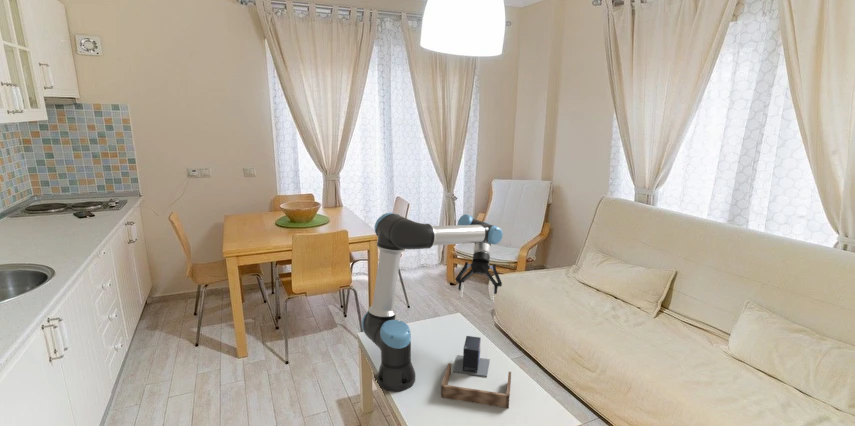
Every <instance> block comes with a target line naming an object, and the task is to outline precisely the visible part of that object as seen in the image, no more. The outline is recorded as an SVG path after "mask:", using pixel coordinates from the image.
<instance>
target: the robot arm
mask: <svg viewBox="0 0 855 426" xmlns="http://www.w3.org/2000/svg"><path fill="white" fill-rule="evenodd" d="M374 233H375V235H376V236H377V243H376V247H378V249H379V255H378V256H379V258H378V262H377V263H378V264H377V270H376V277H375V278H376V279H375V285H374V293H373V299H372V305H370V306H369V307H368V309H367V311H366V312H365V314H364V315H363V317H362V319H361V327H362V331H363V333H364V334H365V336H366V337H367V338H368V339H370V340H371V342H373V344H375V345H376V346H377V348H378V349H380V355H381V356H380V358H381V361H380V362H381V363H380V366H379V369H378V372H377V376H376V377H377V385H378V386H379V387H380V388H381V389H383V390H386V391H389V392H402V391H405V390H408V389H409V388H411V387H412V386H413V385H414V384H415V382H416V371H415V369H414V366H413V362H412V354H411V353H412V350H411V349H412V333H411V329H410V327H409V325H408V324H407V323H406V322H405V321H403V320H398V319H396V316H397V311H396V309H395V308H394V303H395V297H396V290H397V282H398V275H399V268H400V263H401V257H402V256H401V255H402V252H405V250H425V249H432V247H433V246H447V245H462V244H463V245H464V244H474V245H473V254H472V261H471V263H469V262H467V261H466V262H464V265H463V268H462V269H461V270H460V271H459V273H458V274H457V276H456V277H455V282H456V283H458V287H457V289H458V291H460V292H459V299H461V300H463V295H464V287H465V284H464V283H465V282H466V281H468V280H469V278H471V276H473V275H474V274H476V275H482V276H483V275H485V276H486V277H487V278H488V280H490V282H491V284H492V290H491V302H492V303H494V301H495V295H497V293H498V288H499V287H503V283H502V280H501V278H500V275H499V273H498V271H497V266H496V264H492V265H491V264H490V261H491V260H490V258H491V256H490V255H491V248H492V245H498V244H499V243H500V242H501V241H502V239H503V236H504V235H503V234H504V233H503V230H502V228H501V227H499V226H497V225H494V224H491V223H489V222H486V221H481V220H480V219H479V220H478V219H476V218H474V217H473V216H472V215H470V214H467V213H466V214H462V215H461V216H460V217H459V219H458V221H457V224H456V225H432V224H430V223H420V222H416V221H414V220H411V219H408V218H406V217H404V216H402V215H400V214H399V213H393V212H386V213H383V214H382V215H381V216H379V217H378V218H377V219H376V221H375V224H374ZM470 267H471V269H470V270H469V271H468V272H467V270H468V269H469V268H470ZM490 269H491V271H493V275H494V276H495V279H496V280H495V279H494V277H493V276H492V275H491V273H490V272H489V270H490ZM466 272H467V273H466Z"/></svg>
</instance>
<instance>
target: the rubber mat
mask: <svg viewBox="0 0 855 426" xmlns="http://www.w3.org/2000/svg"><path fill="white" fill-rule="evenodd" d="M490 360H491V359H489V358H481V357H480V360H479V366H478V371H477V373H476V372H469V371H463V355H460V354H457V356H456V360H455V363H454V366H453V370H452V373H454V374H455V373H456V374H461V375H462V374H463V375H469V376H470V375H471V376H476V377H482V378H483V377H484V378H487V377H488V372H489V367H490Z"/></svg>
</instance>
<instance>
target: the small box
mask: <svg viewBox="0 0 855 426" xmlns="http://www.w3.org/2000/svg"><path fill="white" fill-rule="evenodd" d="M481 340H482V339H481V337H478V336H472V335H466V337H465V342H464V344H463V353H462V356H463V371H469V372H476V373H477V371H478V366H479V360H480V358H481Z"/></svg>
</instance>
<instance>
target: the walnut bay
mask: <svg viewBox="0 0 855 426" xmlns="http://www.w3.org/2000/svg"><path fill="white" fill-rule="evenodd" d="M451 374H452V363H450V362H449V363H447V367H446V370H445V373H444V376H443V378H442V382H441V385H440V398H442V399H448V400H453V401H454V400H456V401H461V402H467V403H472V404H473V403H474V404H479V405H484V406H485V405H487V406H493V407H499V408H500V407H501V408H505V409H506V408H507V409H509V408H510V407H509V405H510V395H511V394H510V393H511V382H512V381H511V380H512V371H508V374H507V376H508V377H507V388H506V393H504V392H503V393H501V392H497V391H496V392H495V391H488V390H483V389H475V388H469V387H462V386H457V385H456V386H455V385H449V382H450V379H451Z"/></svg>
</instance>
